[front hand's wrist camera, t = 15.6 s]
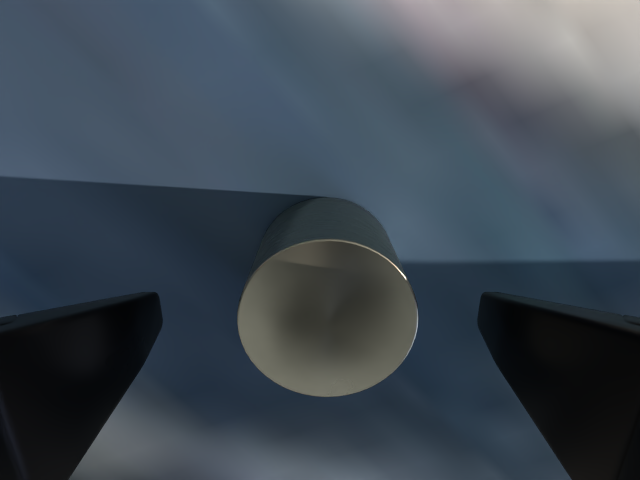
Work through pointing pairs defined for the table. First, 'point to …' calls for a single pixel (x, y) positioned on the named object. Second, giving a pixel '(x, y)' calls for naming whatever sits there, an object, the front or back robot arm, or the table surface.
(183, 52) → the table surface
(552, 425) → the front robot arm
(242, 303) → the can
